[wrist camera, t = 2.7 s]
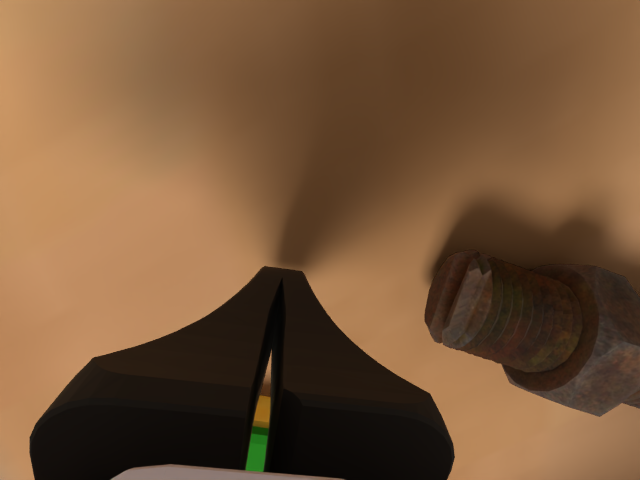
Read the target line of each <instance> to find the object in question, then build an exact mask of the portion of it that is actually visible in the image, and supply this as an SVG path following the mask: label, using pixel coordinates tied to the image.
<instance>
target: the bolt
mask: <svg viewBox="0 0 640 480" xmlns="http://www.w3.org/2000/svg"><path fill="white" fill-rule="evenodd" d="M425 323H426V324H427V326H428V328H429V331H430V334H431V336H432V338H433V339H434V341H435V342H437V343H439V344H440V343H443V345H445V346H447V347H449V348H453V349H456V350H461V351H465V352H467V353H468V354H473V355H474V356H479V357H482V358H484V359H488V360H492V361H494V362H496V363H501V364H502V367H503V369H504V371H505V373H506V376H507V378H508V380H509V382H510V383H511V384H513V385H515V386H517V387H519V388H521V389H524V390H526V391H528V392H531V393H533V394H536V395H538V396H541V397H543V398H546V399H549V400H551V401H554V402H556V403H559V404H562V405H564V406H567V407H570V408H573V409H577V410H580V411H583V412H586V413H589V414H593V415H596V416H599V417H600V416H602V415H603V414H605V413H606V412H608V411H610V410H611V409H613V408H615V407H616V406H618V405H620V404H621V403H624V404H628V405H630V406H634V407H637V408H640V298H639V296H638V295H637V293H636V292H635V290H634V289H633V288H632V286H631V285H630V283H629V282H628V281H627V279H626V278H625V277H624V276H621V275H618V274H615V273H613V272H610V271H607V270H605V269H602V268H599V267H597V266H587V265H574V264H553V265H544V266H540V267H538V268H536V269H534V270H532V271H530V270H526V269H524V268H521V267H518V266H515V265H513V264H509V263H507V262H504V261H502V260H497V259H496V258H495V257H490V256H489V255H486V254H482V253H479V252H478V251H476V250H467V251H463V252H456V253H455V254H453V255H451V256H450V257H448V258H447V259H446V261H445V262H444V263H443V265H442V266H441V268H440V269H439V271H438V273H437V274H436V276H435V278H434V280H433V282H432V284H431V287H430V289H429V294H428V299H427V304H426V308H425Z"/></svg>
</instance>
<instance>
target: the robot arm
mask: <svg viewBox="0 0 640 480" xmlns="http://www.w3.org/2000/svg"><path fill="white" fill-rule="evenodd" d="M271 350H272V361H271V397H270V419H269V429H268V437H267V445H266V453H265V462H264V470H263V472H256V471H246V465H247V459H248V452H249V446H250V440H251V434H252V427H253V422H254V417H255V412H256V408H257V404H258V400H259V396H260V392H261V388H262V385H263V381H264V377H265V373H266V369H267V365H268V361H269V357H270V354H271ZM30 457H31V462H32V468H33V473H34V478H35V480H447V479H448V476H449V474H450V472H451V469H452V465H453V462H454V458H455V456H454V447H453V442H452V440H451V437H450V435H449V433H448V430H447V428H446V425H445V423H444V421H443V418H442V416H441V414H440V412H439V410H438V408H437V406H436V404H435V402H434V401H433V399H432V396H431V395H430V393H428V392H426V391H424V390H422V389H421V388H419V387H417V386H415V385H413V384H412V383H410V382H408V381H406V380H404V379H403V378H401V377H399V376H397V375H396V374H394V373H393V372H391V371H390V370H388V369H387V368H385V367H384V366H382V365H381V364H379V363H378V362H377V361H375V360H374V359H373V358H371V357H370V356H369V355H367V354H366V353H365V352H364V351H363V350H362V349H360V348H359V347H358V346H357V345H356V344H354V343H353V342H352V341H351V340H350V339H349V338H348V337H347V336H346V335H345V334H344V333H343V332H342V331H341V330H340V329H339V328H338V327H337V325H336V324H335V323H334V322H333V321H332V319H331V318H330V317H329V315H328V314H327V313H326V311H325V310H324V308H323V307H322V306H321V304H320V302H319V301H318V299H317V298H316V296H315V294H314V293H313V291H312V289H311V287H310V285H309V283H308V281H307V279H306V277H305V275H304V273H303V272H302V271H296V270H289V269H281V268H274V267H267V266H264V267H263V268H261V269H260V270H259V272H258V273H257V274H256V275H255V276H254V277H253V278H252V279H251V281H250V282H249V283H248V284H247V285H245V286H244V287H243V288H242V289H241V290H240V291H239V292H238V293H237V294H236V295H234V296H233V297H232V298H231V299H229V300H228V301H227V302H226V303H224V304H223V305H222V306H220V307H219V308H218V309H216V310H215V311H213V312H212V313H210V314H209V315H207V316H205V317H204V318H202V319H200V320H198V321H196V322H194V323H192V324H190V325H188V326H186V327H184V328H182V329H180V330H178V331H176V332H174V333H171V334H169V335H166V336H164V337H161V338H159V339H156V340H153V341H150V342H147V343H145V344H141V345H138V346H135V347H132V348H128V349H124V350H121V351H117V352H113V353H110V354H106V355H102V356H98V357H94V358H92V359H91V361H90V362H89V363H88V364H87V365H86V366H85V367H84V368H83V369H82V370H81V371H80V372H79V373H78V374H77V375H76V376H75V377H74V378H73V379H72V380H71V381H70V383H69V384H68V385H67V386H66V387H65V388H64V390H63V391H62V392H61V393H60V395H59V396H58V397H57V398H56V399H55V401H54V402H53V403H52V404H51V406H50V407H49V408H48V409H47V410H46V412H45V413H44V414H43V415H42V417H41V418H40V419H39V420H38V422H37V423H36V425H35V427H34V429H33V431H32V434H31V436H30Z"/></svg>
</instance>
